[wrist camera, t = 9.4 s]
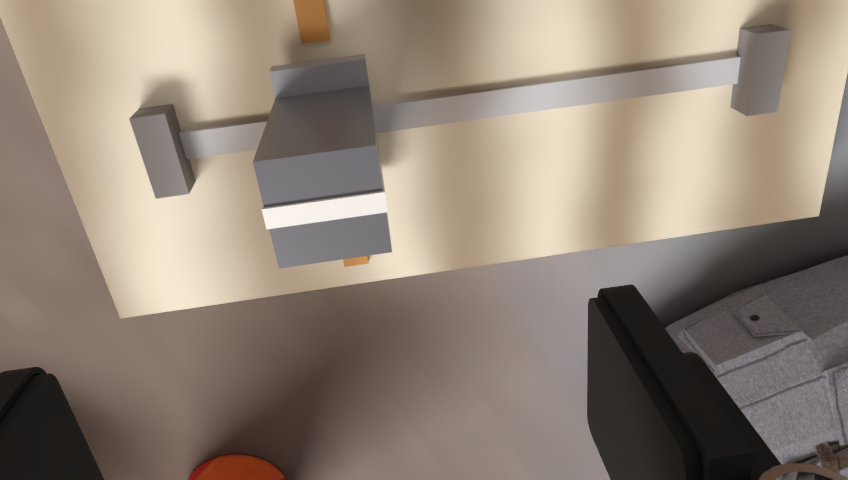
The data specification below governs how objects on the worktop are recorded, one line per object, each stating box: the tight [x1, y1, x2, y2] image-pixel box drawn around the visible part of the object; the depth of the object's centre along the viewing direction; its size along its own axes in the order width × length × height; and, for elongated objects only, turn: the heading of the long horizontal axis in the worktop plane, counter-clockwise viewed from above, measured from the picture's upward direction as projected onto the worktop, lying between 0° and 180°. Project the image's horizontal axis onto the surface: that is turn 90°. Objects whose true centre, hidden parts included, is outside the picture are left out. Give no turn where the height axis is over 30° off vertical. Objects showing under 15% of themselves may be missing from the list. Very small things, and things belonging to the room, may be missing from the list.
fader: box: [253, 54, 392, 269], centre depth 21 cm, size 3×5×7 cm, turn 6°
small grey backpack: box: [665, 256, 848, 478], centre depth 33 cm, size 15×8×20 cm
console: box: [0, 0, 848, 318], centre depth 25 cm, size 30×14×4 cm, turn 96°
